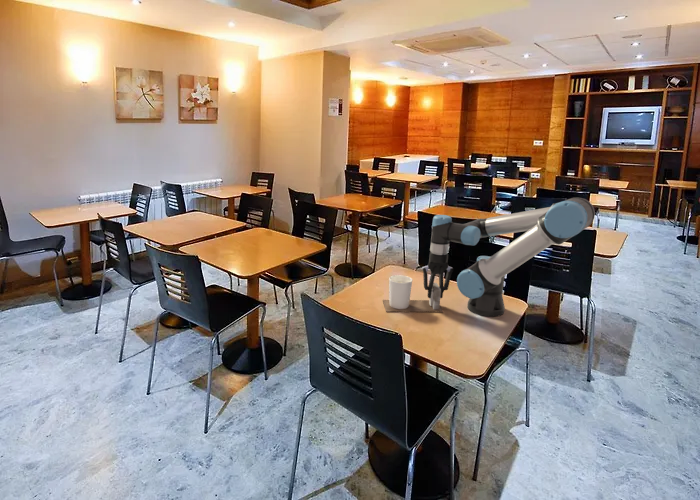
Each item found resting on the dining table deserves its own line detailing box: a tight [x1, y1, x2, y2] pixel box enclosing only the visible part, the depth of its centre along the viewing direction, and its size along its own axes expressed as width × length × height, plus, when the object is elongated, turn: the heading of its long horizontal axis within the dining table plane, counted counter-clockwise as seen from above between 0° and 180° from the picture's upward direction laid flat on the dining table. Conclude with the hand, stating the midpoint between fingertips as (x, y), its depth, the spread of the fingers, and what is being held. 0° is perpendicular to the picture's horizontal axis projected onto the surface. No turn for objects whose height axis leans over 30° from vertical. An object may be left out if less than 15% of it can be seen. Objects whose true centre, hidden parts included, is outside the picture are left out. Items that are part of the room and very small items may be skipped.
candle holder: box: [388, 274, 413, 309], centre depth 188 cm, size 10×10×12 cm
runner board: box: [382, 282, 444, 313], centre depth 188 cm, size 24×12×9 cm, turn 93°
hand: (434, 304), depth 190 cm, fingers closed on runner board, 2 cm apart
